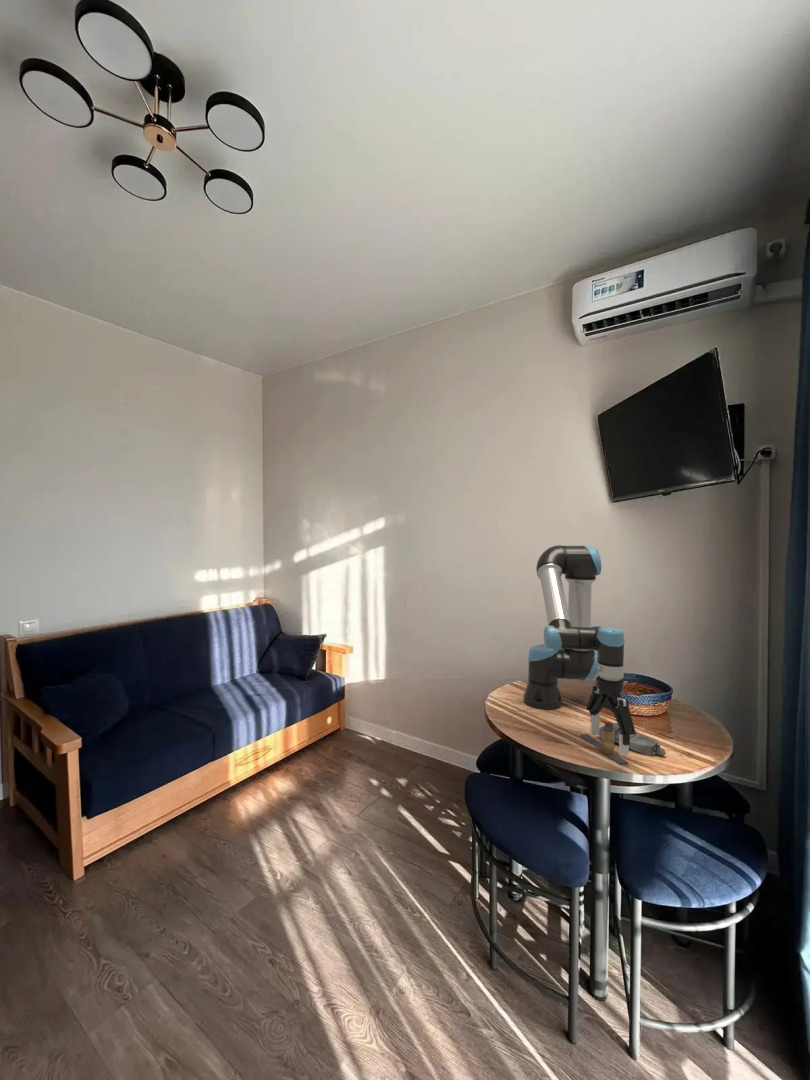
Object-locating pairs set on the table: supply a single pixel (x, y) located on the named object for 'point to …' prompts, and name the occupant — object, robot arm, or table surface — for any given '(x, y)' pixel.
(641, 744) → the handheld device
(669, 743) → the table surface
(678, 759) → the table surface
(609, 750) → the tan bottle
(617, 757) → the strip
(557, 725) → the table surface
